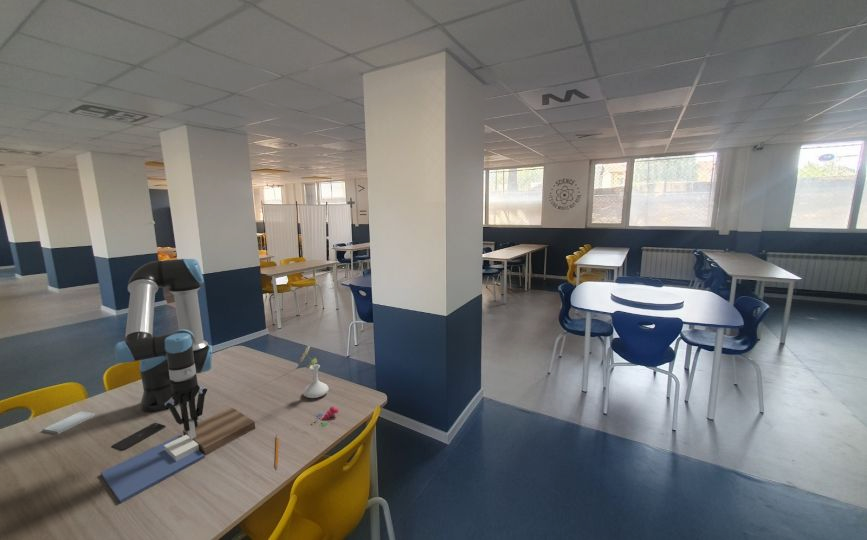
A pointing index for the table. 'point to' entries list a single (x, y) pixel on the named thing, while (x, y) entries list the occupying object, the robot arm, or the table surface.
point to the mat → (146, 470)
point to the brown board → (221, 430)
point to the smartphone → (138, 436)
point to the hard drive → (68, 422)
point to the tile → (181, 447)
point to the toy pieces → (328, 415)
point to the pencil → (276, 451)
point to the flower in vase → (314, 379)
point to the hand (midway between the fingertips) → (192, 436)
